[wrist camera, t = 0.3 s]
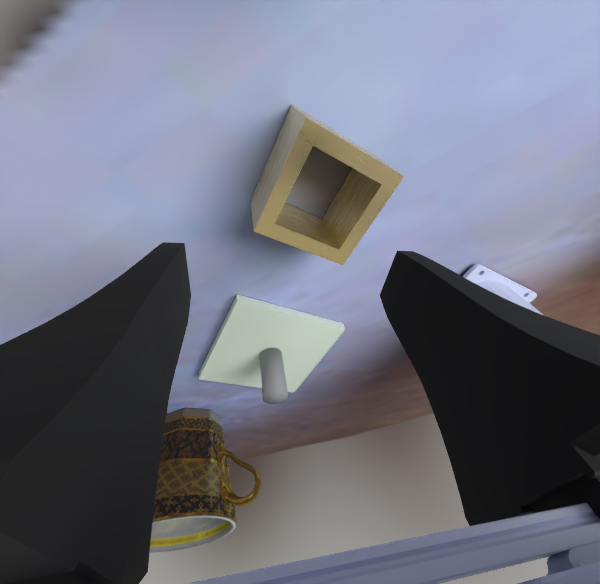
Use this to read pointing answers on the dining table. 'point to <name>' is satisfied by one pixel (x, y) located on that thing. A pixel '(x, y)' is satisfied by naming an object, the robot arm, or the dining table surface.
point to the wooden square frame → (345, 207)
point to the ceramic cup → (194, 483)
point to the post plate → (268, 347)
